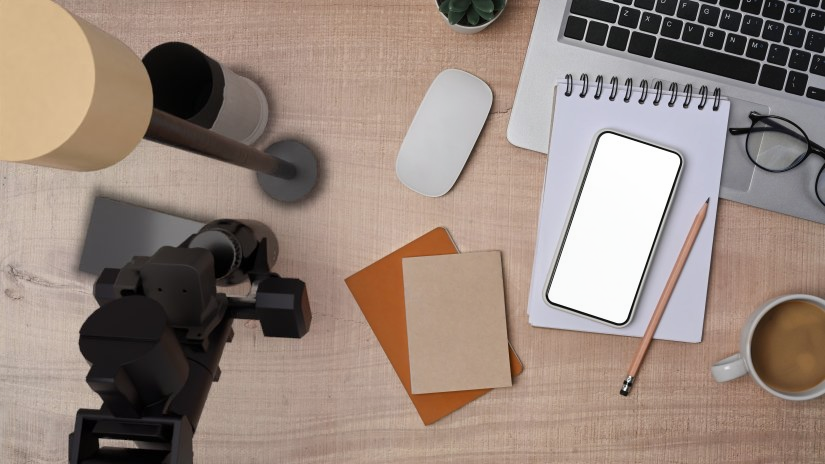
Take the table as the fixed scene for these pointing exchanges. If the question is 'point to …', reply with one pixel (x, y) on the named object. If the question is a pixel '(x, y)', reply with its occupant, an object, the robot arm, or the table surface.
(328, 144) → the table surface
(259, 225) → the supplement bottle
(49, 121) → the desk lamp
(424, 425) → the table surface
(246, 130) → the glass holder
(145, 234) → the slate tile
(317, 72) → the table surface
